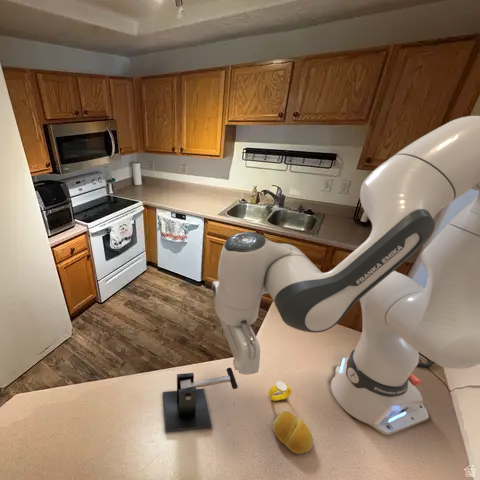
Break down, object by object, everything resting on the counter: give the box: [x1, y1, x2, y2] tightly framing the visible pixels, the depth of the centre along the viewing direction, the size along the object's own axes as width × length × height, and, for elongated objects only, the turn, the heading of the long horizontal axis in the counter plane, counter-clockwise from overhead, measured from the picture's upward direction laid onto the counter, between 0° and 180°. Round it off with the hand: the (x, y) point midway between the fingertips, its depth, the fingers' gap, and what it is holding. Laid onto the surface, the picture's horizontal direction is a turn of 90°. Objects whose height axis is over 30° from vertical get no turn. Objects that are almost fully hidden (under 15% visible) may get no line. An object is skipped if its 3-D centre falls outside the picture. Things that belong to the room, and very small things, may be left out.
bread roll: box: [271, 411, 314, 454], centre depth 65 cm, size 8×9×4 cm
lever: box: [180, 367, 239, 390], centre depth 67 cm, size 14×5×2 cm, turn 94°
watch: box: [268, 380, 292, 402], centre depth 73 cm, size 6×3×6 cm, turn 97°
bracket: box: [162, 372, 212, 433], centre depth 69 cm, size 12×10×13 cm
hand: (231, 349), depth 61 cm, fingers open, 8 cm apart
